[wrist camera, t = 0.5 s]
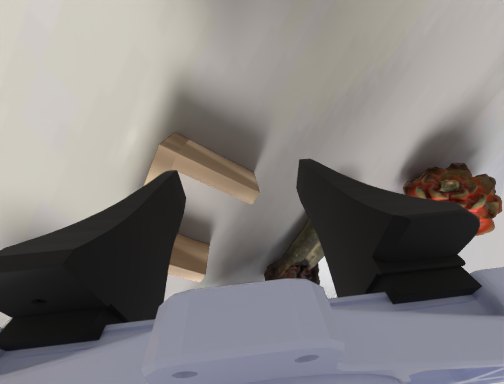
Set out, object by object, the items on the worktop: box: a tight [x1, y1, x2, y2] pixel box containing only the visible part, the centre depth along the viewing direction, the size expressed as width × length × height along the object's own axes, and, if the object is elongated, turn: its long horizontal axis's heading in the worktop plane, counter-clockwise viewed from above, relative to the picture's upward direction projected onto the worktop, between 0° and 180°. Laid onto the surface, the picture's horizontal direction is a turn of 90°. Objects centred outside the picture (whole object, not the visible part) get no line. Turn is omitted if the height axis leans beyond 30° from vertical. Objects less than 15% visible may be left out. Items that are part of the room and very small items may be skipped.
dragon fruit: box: [403, 163, 502, 236], centre depth 23 cm, size 8×8×12 cm
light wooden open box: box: [144, 133, 260, 283], centre depth 21 cm, size 14×10×5 cm
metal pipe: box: [264, 220, 325, 285], centre depth 27 cm, size 18×7×6 cm, turn 150°
